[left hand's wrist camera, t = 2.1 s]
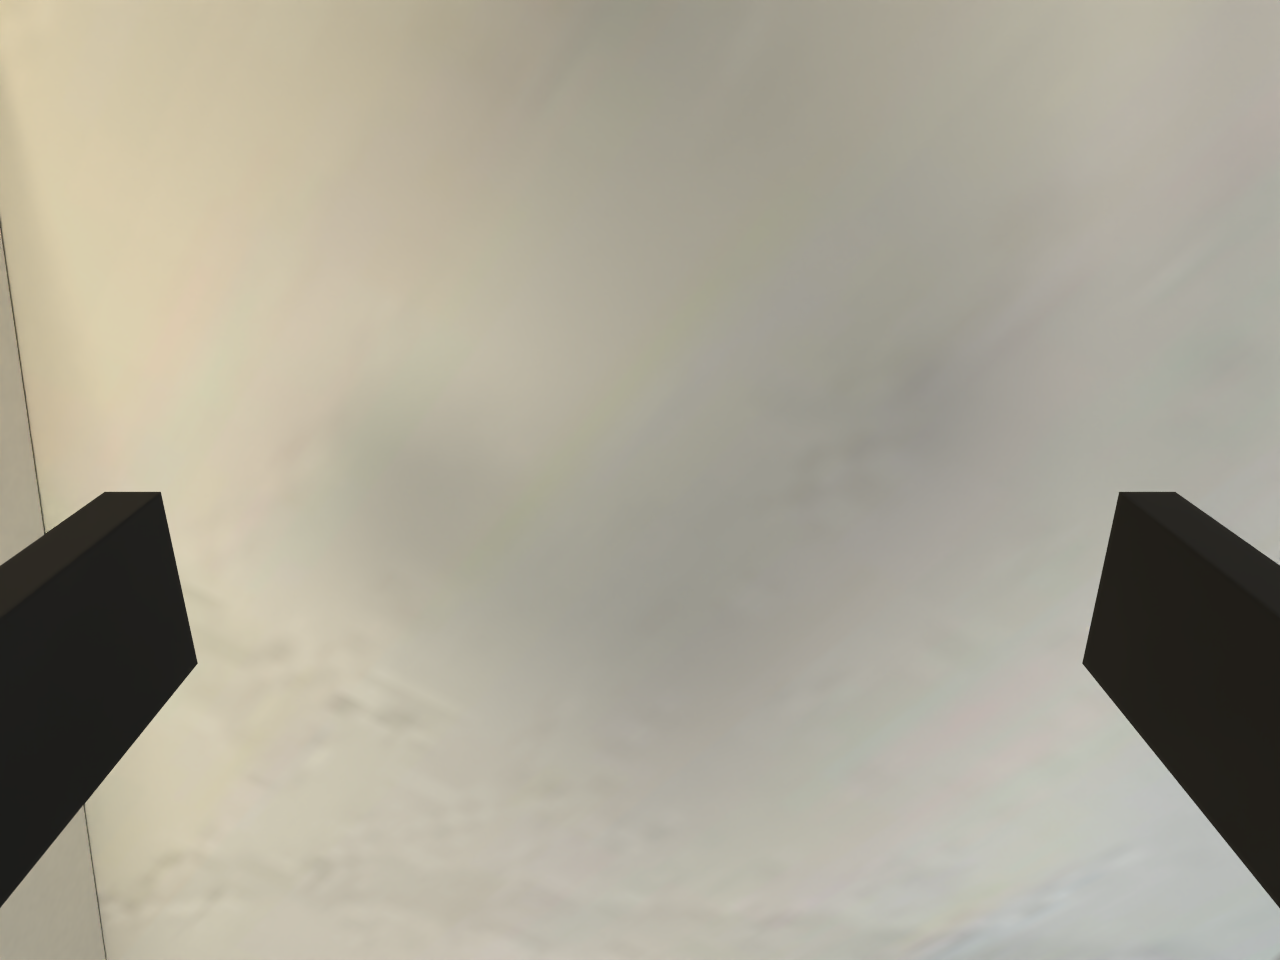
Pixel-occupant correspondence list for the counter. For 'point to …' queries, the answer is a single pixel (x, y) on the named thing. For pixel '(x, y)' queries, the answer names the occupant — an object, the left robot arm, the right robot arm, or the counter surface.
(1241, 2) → the counter surface
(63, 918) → the bar
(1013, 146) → the counter surface
